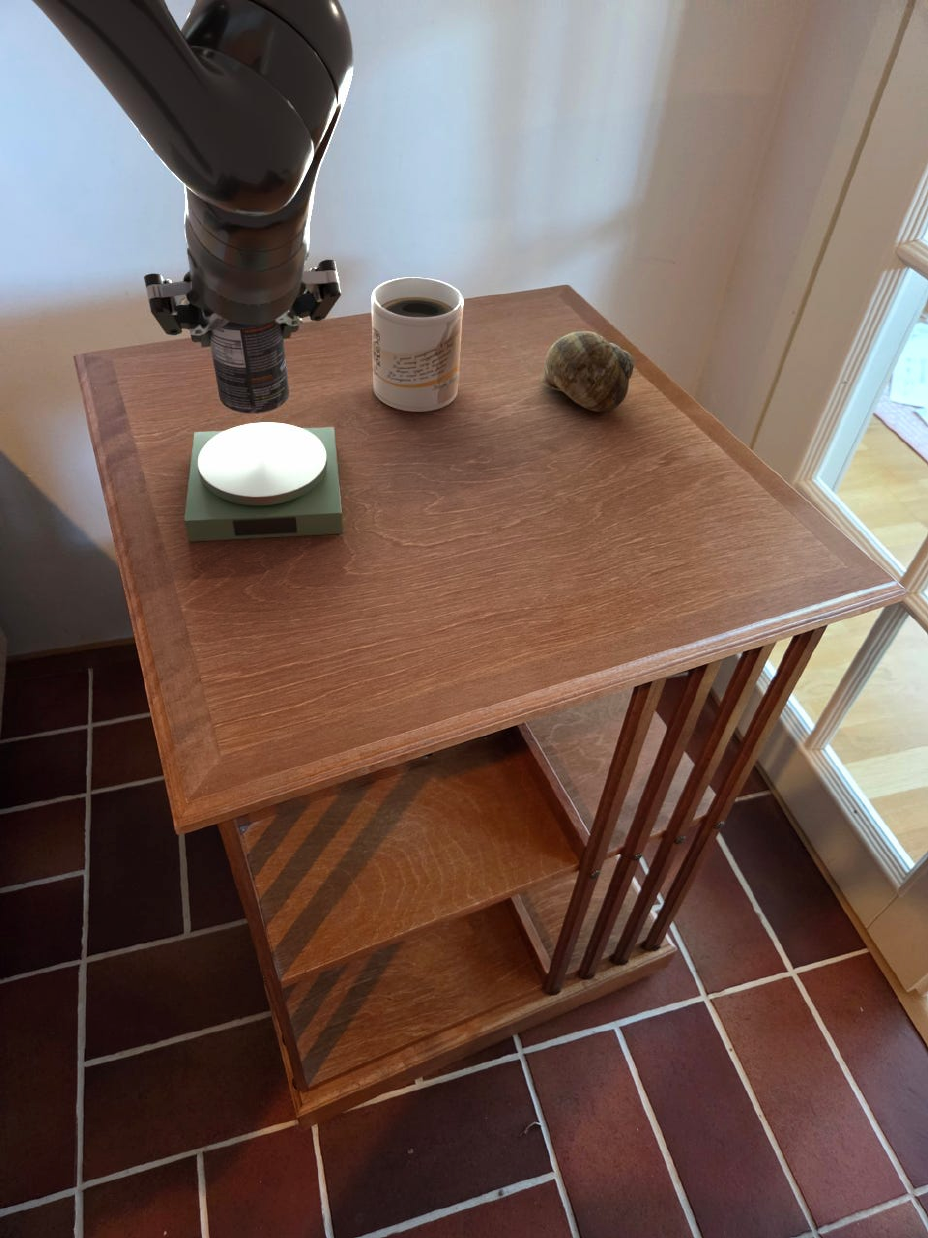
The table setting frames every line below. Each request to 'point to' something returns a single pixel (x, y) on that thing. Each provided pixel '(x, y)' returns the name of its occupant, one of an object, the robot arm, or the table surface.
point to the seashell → (588, 370)
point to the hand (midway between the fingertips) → (243, 330)
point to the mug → (416, 343)
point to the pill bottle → (250, 366)
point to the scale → (263, 483)
